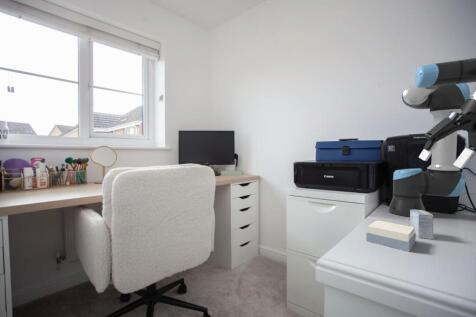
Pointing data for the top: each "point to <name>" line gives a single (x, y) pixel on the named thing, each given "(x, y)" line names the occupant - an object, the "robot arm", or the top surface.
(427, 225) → the medicine box
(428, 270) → the top surface
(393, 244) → the cream grey flat block
